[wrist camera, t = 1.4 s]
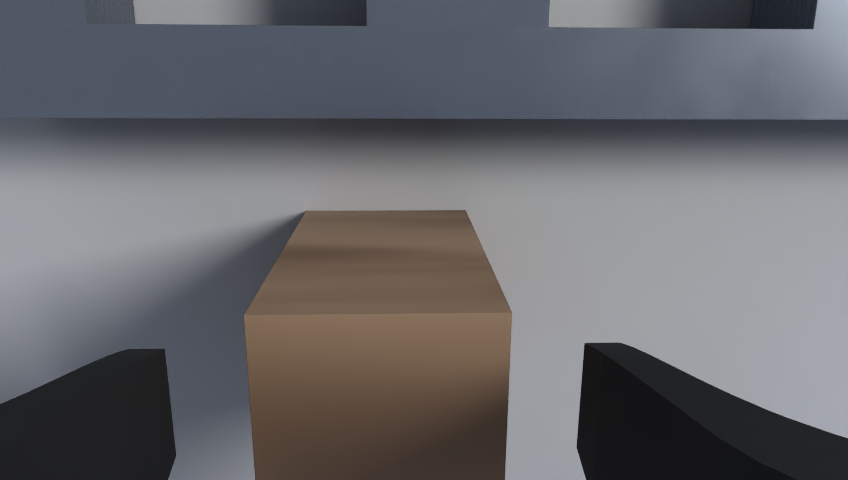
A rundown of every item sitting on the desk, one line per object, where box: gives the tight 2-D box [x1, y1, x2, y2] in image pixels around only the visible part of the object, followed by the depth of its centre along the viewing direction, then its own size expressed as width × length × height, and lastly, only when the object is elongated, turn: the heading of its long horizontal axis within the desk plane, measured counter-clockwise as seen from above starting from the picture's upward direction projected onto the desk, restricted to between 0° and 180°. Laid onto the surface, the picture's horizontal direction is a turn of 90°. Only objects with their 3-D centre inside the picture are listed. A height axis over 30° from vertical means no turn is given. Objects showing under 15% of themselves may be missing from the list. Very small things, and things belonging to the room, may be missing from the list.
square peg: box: [244, 210, 512, 480], centre depth 14 cm, size 4×4×7 cm
